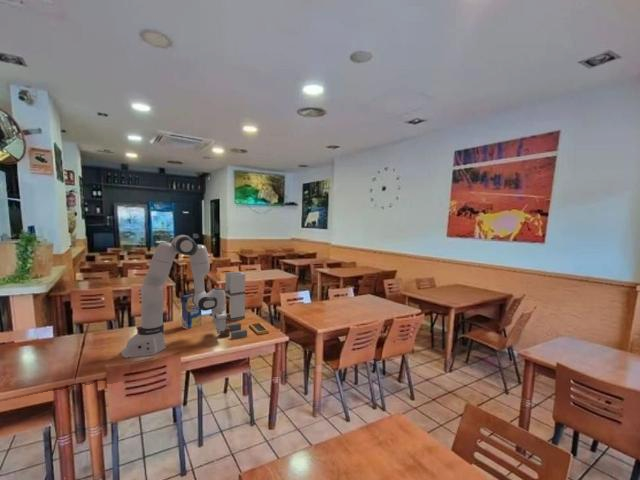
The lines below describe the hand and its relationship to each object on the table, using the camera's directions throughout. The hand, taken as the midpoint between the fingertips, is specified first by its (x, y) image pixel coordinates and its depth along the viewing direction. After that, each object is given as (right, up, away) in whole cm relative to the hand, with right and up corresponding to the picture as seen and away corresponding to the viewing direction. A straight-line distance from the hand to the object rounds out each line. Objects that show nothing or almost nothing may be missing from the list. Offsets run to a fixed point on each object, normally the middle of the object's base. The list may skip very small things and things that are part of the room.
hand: (218, 333), depth 204 cm
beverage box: (-25, 0, +18) cm, 31 cm away
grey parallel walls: (+10, -2, +6) cm, 12 cm away
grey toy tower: (0, 0, +38) cm, 38 cm away
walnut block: (+4, -2, +2) cm, 5 cm away
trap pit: (+24, -2, +14) cm, 28 cm away
